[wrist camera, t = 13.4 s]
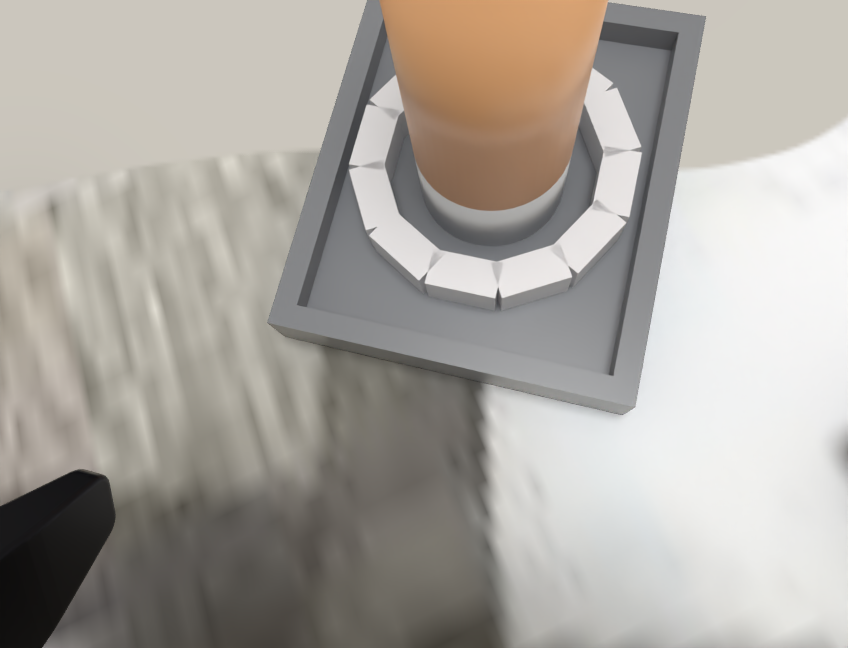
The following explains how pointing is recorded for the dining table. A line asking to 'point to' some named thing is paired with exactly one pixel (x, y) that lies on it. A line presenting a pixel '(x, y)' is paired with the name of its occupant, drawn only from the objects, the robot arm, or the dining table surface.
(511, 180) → the peach bulb knob
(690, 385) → the dining table surface
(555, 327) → the housing
